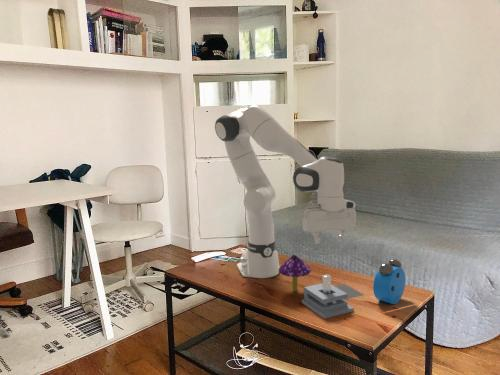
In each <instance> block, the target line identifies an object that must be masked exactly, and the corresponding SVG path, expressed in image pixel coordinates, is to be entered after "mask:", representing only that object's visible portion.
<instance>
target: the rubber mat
mask: <svg viewBox="0 0 500 375" xmlns="http://www.w3.org/2000/svg"><path fill="white" fill-rule="evenodd" d="M334 286H335V287H337V288H338V289H340V290H342V291H344V292H345V293H347V294H348V298H346V299H343V300H345V301H346V300H348V299H352V298H357V297H361V296H365V294H364V293H362V292H360V291H359V290H356V289H355V288H353V287H351V286H349V285H347V284H345V283H342V284H338V285H334Z"/></svg>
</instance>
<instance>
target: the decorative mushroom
mask: <svg viewBox="0 0 500 375" xmlns="http://www.w3.org/2000/svg"><path fill="white" fill-rule="evenodd" d="M311 272H312V269H311V267H310V266H309V265H308V264H307V263H306V262H305V261H304V260H303V259H301V258H300V257H299V256H298V255H297V254H292V255H291V256H290V257H289V258H288V259H286V261H285V262H283V263H282V265H280V268H279V274H281V275H282V276H286V277H291V278H292V284H291V286H292V292H293V293H297V292H298V291H299V290H298V277H305V276H308V275H309V274H310V273H311Z"/></svg>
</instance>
